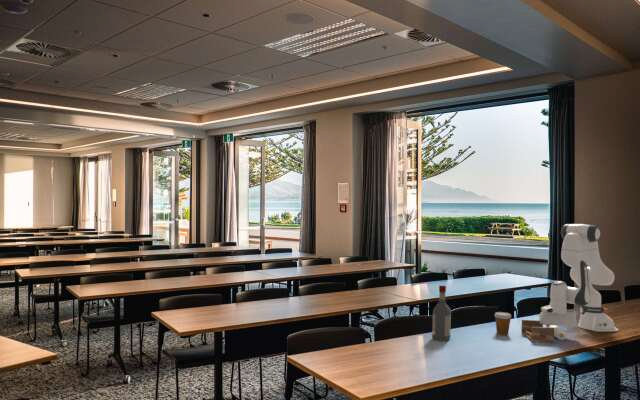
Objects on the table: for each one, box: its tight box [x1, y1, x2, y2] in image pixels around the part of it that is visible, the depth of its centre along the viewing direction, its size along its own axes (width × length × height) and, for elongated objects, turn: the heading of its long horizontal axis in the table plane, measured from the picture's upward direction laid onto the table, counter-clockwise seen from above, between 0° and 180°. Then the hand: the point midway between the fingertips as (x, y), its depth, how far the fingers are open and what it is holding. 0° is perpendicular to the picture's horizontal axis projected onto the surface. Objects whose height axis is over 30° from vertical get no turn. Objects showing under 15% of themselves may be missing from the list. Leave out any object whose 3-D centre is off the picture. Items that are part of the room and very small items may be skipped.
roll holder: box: [521, 319, 555, 344], centre depth 286 cm, size 20×12×8 cm, turn 176°
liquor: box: [431, 285, 452, 342], centre depth 279 cm, size 9×9×30 cm
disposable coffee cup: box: [494, 311, 512, 336], centre depth 294 cm, size 10×10×12 cm
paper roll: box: [550, 325, 568, 341], centre depth 289 cm, size 13×6×6 cm, turn 176°
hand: (557, 332), depth 289 cm, fingers open, 7 cm apart
